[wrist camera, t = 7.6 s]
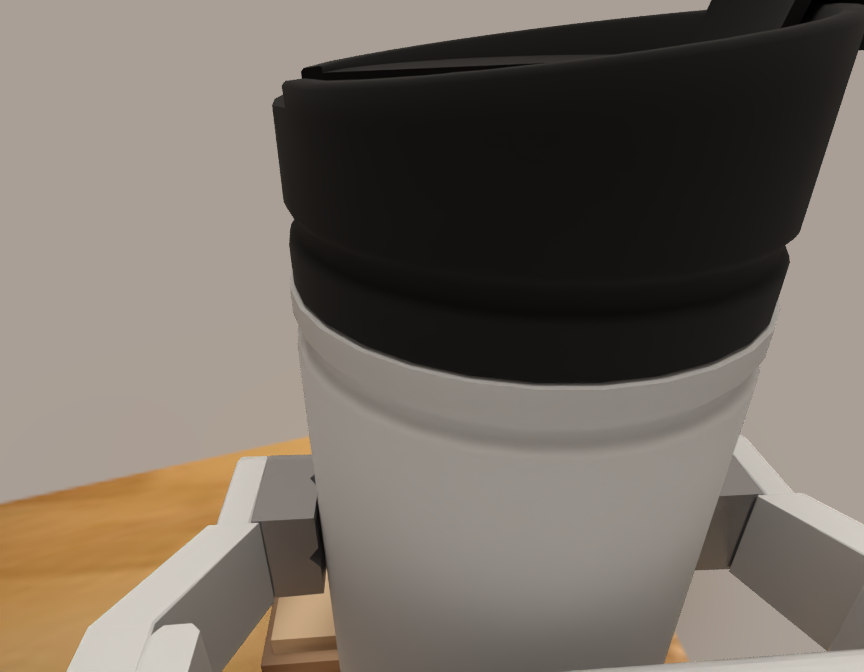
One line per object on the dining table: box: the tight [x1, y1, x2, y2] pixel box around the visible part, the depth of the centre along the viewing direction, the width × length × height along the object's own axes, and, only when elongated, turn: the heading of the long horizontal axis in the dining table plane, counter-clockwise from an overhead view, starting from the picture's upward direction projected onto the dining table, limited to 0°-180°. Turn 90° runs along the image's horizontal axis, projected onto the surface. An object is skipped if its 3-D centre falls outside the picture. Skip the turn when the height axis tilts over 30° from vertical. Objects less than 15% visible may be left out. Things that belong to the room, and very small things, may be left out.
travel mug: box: [272, 0, 864, 672], centre depth 11 cm, size 6×7×20 cm
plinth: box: [261, 570, 340, 672], centre depth 31 cm, size 11×11×4 cm
